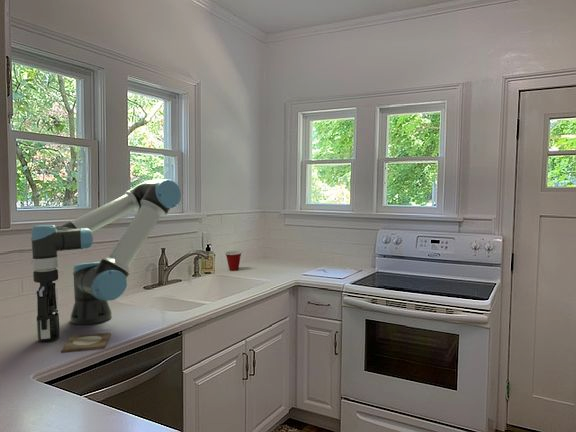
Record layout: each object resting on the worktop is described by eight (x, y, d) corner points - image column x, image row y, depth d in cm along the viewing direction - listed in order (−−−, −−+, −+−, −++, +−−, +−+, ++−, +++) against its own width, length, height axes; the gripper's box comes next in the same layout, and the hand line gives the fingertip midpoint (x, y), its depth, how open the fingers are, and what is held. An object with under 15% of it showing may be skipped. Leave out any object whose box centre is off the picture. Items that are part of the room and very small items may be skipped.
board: (71, 338, 154) (71, 335, 154) (110, 334, 157) (110, 332, 157) (61, 352, 140) (60, 349, 140) (104, 348, 143) (104, 345, 143)
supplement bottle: (63, 335, 156) (62, 302, 156) (53, 342, 150) (52, 307, 149) (44, 336, 156) (42, 303, 155) (33, 342, 149) (31, 308, 149)
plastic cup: (222, 271, 280) (221, 252, 279) (229, 268, 290) (229, 250, 290) (237, 272, 277) (237, 253, 276) (244, 269, 287) (244, 250, 286)
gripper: (42, 265, 160) (45, 327, 161) (23, 275, 141) (27, 345, 142) (64, 264, 162) (67, 325, 163) (49, 274, 143) (52, 343, 144)
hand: (48, 334), depth 153 cm, fingers closed on supplement bottle, 7 cm apart
